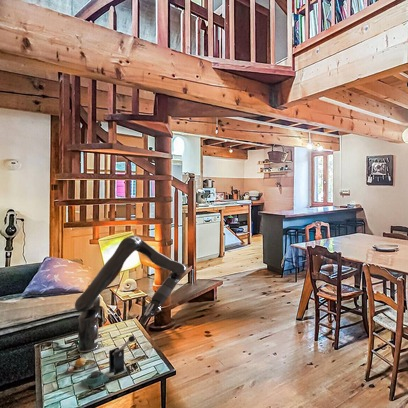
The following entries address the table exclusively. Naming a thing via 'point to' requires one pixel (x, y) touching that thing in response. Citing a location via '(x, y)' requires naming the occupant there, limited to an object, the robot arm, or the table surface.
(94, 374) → the button
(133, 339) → the lever
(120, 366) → the bracket
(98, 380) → the button box
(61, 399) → the table surface
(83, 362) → the burger
